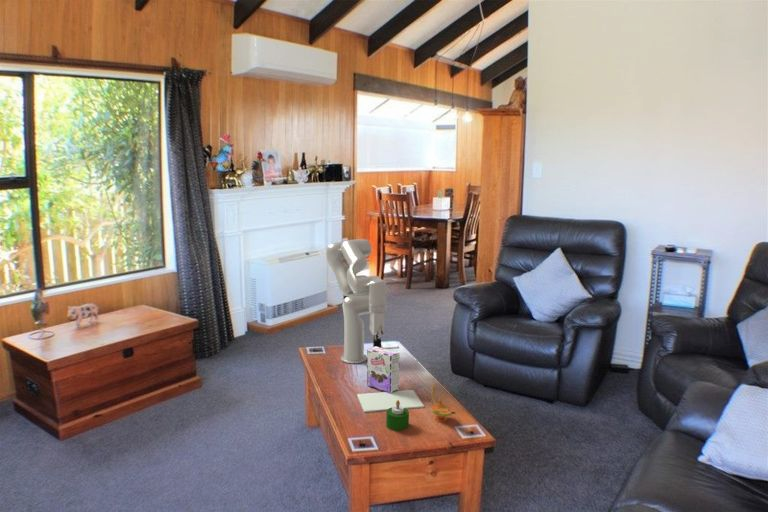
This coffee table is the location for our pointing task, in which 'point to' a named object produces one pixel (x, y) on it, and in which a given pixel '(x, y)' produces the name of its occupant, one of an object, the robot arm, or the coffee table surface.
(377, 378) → the candy box
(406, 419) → the candle
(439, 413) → the magic lamp
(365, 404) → the mat
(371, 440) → the coffee table surface
